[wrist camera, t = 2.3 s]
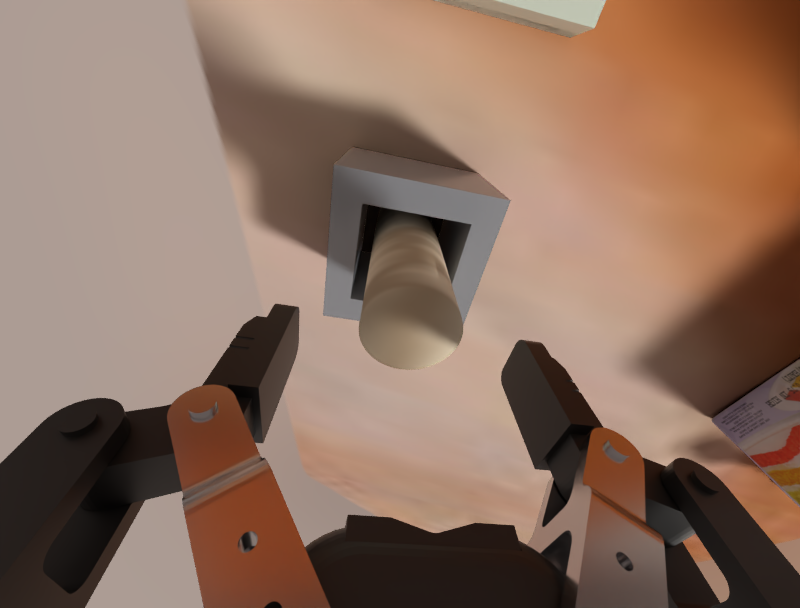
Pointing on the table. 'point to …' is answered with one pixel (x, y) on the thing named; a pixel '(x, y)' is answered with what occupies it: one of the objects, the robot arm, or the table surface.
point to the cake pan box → (770, 428)
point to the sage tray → (540, 13)
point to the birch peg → (408, 295)
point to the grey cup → (416, 193)
